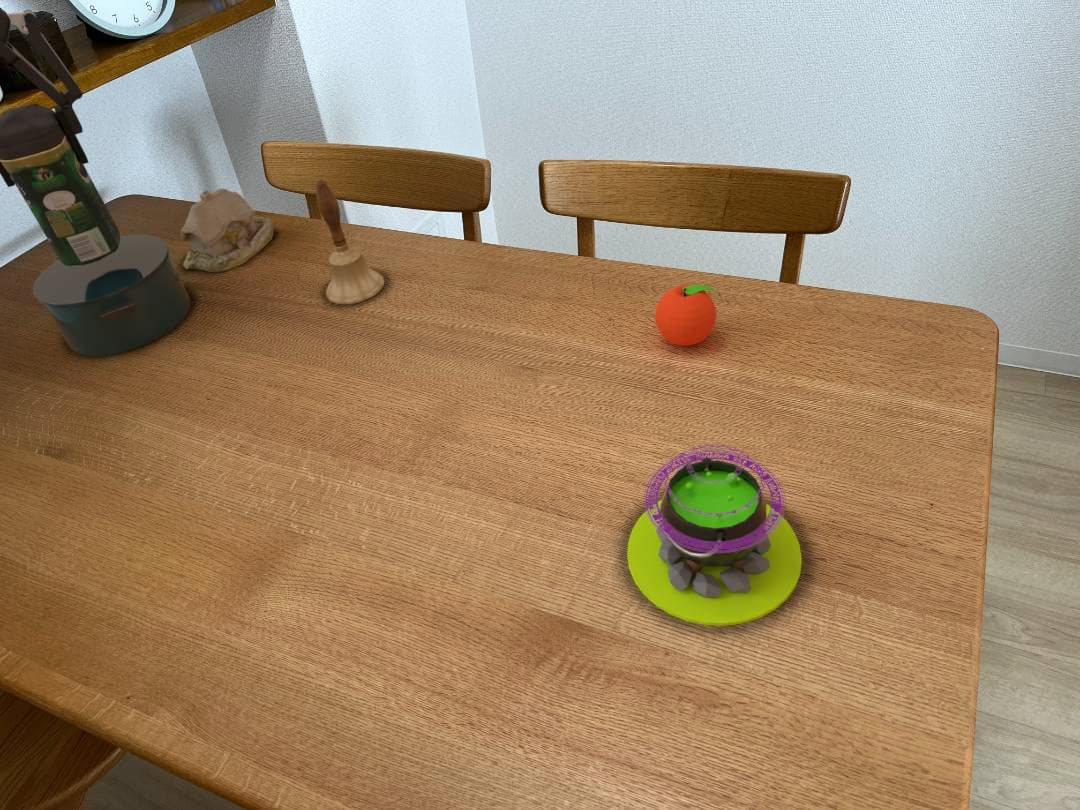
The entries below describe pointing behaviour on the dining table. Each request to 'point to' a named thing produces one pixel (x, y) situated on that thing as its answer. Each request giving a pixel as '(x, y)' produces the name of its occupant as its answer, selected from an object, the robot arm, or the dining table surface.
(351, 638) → the dining table surface
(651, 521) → the toy cauldron
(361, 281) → the hand bell
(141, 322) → the teal round box
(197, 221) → the ceramic model
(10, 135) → the coffee jar
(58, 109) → the robot arm
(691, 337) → the clementine
